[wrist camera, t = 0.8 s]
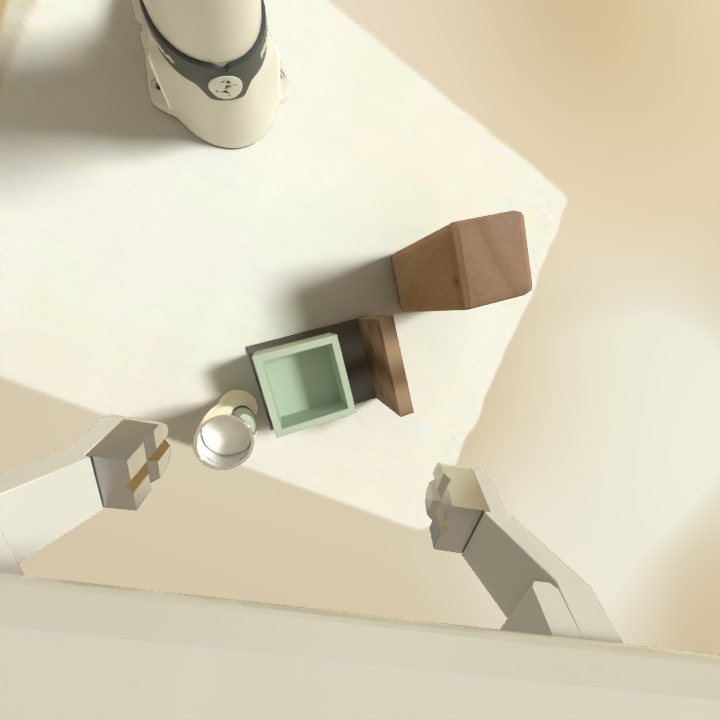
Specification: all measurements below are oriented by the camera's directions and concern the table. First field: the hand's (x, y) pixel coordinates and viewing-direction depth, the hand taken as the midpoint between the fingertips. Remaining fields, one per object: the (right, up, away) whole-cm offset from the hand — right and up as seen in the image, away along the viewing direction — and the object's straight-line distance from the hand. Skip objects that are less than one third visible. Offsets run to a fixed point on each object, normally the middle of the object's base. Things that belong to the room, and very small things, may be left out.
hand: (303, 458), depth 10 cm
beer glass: (-18, -5, +42) cm, 46 cm away
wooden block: (+12, +17, +47) cm, 52 cm away
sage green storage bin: (-8, 0, +43) cm, 44 cm away
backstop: (-5, +1, +45) cm, 45 cm away
